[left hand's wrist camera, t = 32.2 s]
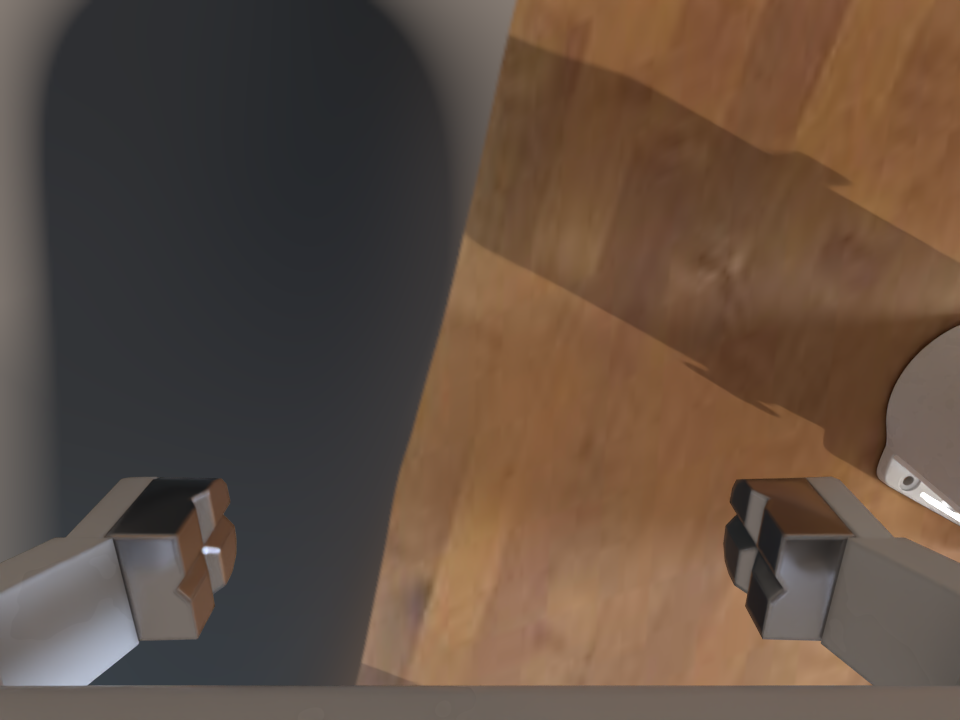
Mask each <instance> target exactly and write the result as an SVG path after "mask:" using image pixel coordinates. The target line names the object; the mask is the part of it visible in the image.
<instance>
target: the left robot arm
mask: <svg viewBox="0 0 960 720" xmlns="http://www.w3.org/2000/svg"><path fill="white" fill-rule="evenodd" d="M886 430H887V442H886V447H885V449H884V451H883V453H882V456H881V458H880V461H879V464H878V467H877V476H878V478H879V479H880V480H881V481H882V482H883V483H885V484H886V485H888V486H889V487H891V488H893V489H894V490H896V491H898V492H900V493H901V494H903V495H905V496H907V497H909V498H910V499H912V500H914V501H916V502H918V503H919V504H921V505H923V506H925V507H927V508H928V509H930V510H932V511H934V512H935V513H937V514H939V515H941V516H943V517H944V518H946V519H948V520H950V521H952V522H953V523H955V524H957V525H959V526H960V325H958V326H956V327H954V328H952V329H951V330H949V331H947V332H945V333H944V334H942V335H940V336H939V337H937V338H936V339H935V340H933V341H932V342H931V343H929V344H928V345H927V346H926V347H925V348H924V349H922V350H921V351H920V352H919V353H918V354H917V355H916V356H915V357H914V358H913V360H912V361H911V362H910V363H909V364H908V366H907V367H906V368H905V370H904V371H903V372H902V374H901V376H900V377H899V379H898V381H897V383H896V384H895V387H894V389H893V391H892V394H891V396H890V399H889V403H888V408H887V415H886ZM906 477H907V479H905V480H904V478H906ZM229 503H230V498H229V494H228V489H227V484H226V483H225V482H224V481H223V480H222V479H221V478H172V477H171V478H170V477H160V478H157V477H129V478H124V479H121V480H120V481H119V482H118V483H117V484H116V485H115V486H114V487H113V488H112V489H111V490H110V491H109V493H108V494H107V495H106V496H105V497H104V498H103V499H102V500H101V501H100V502H99V503H98V504H97V505H96V506H95V507H94V508H93V509H92V510H91V511H90V513H89V514H88V515H87V516H86V517H85V518H84V519H83V520H82V521H81V522H80V523H79V524H78V525H77V526H76V527H75V528H74V529H73V530H72V531H71V533H70V534H69V535H68V536H67V537H66V538H53V539H51V540H49V541H47V542H45V543H43V544H40V545H38V546H36V547H34V548H32V549H30V550H28V551H25V552H23V553H21V554H19V555H17V556H15V557H12V558H10V559H8V560H6V561H4V562H1V563H0V720H960V563H958V562H956V561H954V560H952V559H950V558H948V557H946V556H943V555H941V554H939V553H937V552H935V551H933V550H930V549H928V548H926V547H924V546H922V545H920V544H917V543H915V542H913V541H911V540H909V539H907V538H894V537H893V536H892V535H891V534H890V532H889V531H888V530H887V529H886V528H885V527H884V526H883V525H882V524H881V523H880V522H879V521H878V520H877V519H876V518H875V517H874V516H873V515H872V513H871V512H870V511H869V510H868V509H867V508H866V507H865V506H864V505H863V504H862V503H861V502H860V501H859V500H858V499H857V498H856V497H855V496H854V494H853V493H852V492H851V491H850V490H849V489H848V488H847V487H846V486H845V485H844V484H843V483H842V482H841V481H840V480H839V479H836V478H834V477H807V478H777V479H739V480H736V482H735V484H734V486H733V488H732V492H731V498H730V503H731V505H732V507H733V508H734V510H735V512H736V513H737V515H736V516H735V517H734V518H733V519H732V520H731V521H730V522H729V523H728V524H727V525H726V527H725V535H724V542H723V545H724V557H725V563H726V567H727V570H728V573H729V575H730V577H731V579H732V582H733V584H734V585H735V586H736V587H738V588H739V589H741V590H742V591H744V592H745V593H747V599H746V604H745V607H746V609H747V610H748V612H749V614H750V616H751V618H752V620H753V622H754V624H755V626H756V627H757V629H758V631H759V633H760V635H761V637H762V639H775V640H811V641H821V644H822V645H824V646H825V647H826V648H827V649H828V650H830V651H831V652H832V653H833V654H835V655H836V656H837V657H838V658H840V659H841V660H842V661H843V662H845V663H846V664H847V665H848V666H850V667H851V668H852V669H853V670H855V671H856V672H857V673H858V674H860V675H861V676H862V677H863V678H865V679H866V680H867V681H868V682H870V683H871V684H872V685H873V686H87V685H88V684H89V683H91V682H92V681H93V680H94V679H95V678H97V677H98V676H99V675H100V674H102V673H103V672H104V671H106V670H107V669H108V668H109V667H111V666H112V665H113V664H114V663H116V662H117V661H118V660H119V659H121V658H122V657H123V656H124V655H125V654H127V653H128V652H129V651H131V650H132V649H133V648H134V647H136V646H137V645H138V644H139V641H148V640H183V639H198V637H199V635H200V633H201V631H202V629H203V627H204V625H205V624H206V622H207V620H208V618H209V616H210V614H211V612H212V610H213V608H214V607H215V604H214V599H213V593H215V592H216V591H218V590H219V589H221V588H222V587H224V586H225V585H226V583H227V581H228V579H229V577H230V575H231V573H232V571H233V566H234V562H235V557H236V533H235V527H234V525H233V524H232V523H231V522H230V521H229V520H228V519H227V518H226V517H225V516H224V515H223V513H224V512H225V510H226V508H227V507H228V505H229Z"/></svg>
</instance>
